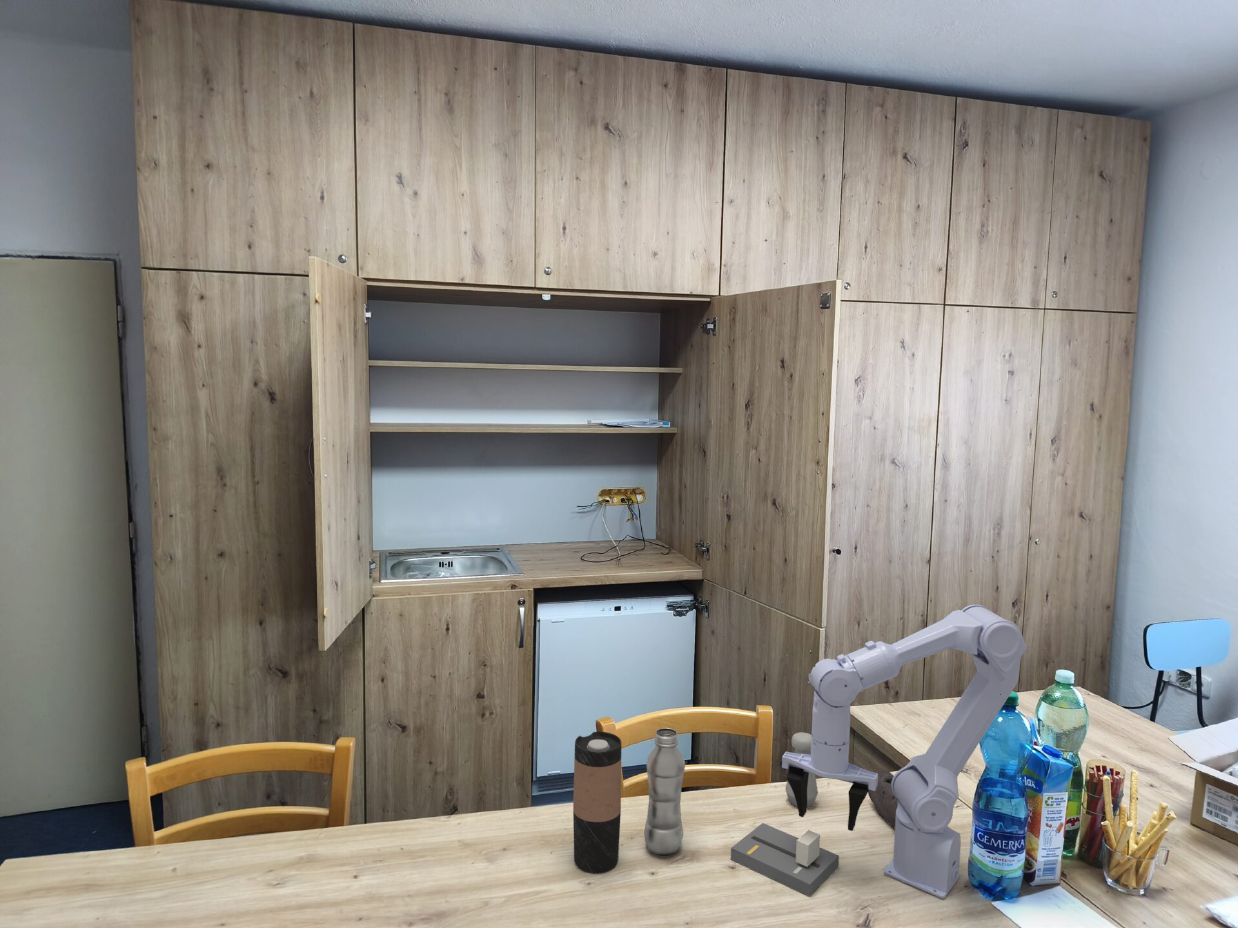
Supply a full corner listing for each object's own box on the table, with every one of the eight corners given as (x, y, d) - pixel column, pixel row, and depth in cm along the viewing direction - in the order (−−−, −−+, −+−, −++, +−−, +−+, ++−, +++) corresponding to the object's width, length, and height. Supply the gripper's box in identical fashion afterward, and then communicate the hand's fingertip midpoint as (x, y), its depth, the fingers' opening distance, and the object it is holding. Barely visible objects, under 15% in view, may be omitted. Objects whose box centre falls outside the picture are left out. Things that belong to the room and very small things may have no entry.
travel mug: (614, 877, 121) (616, 754, 120) (567, 870, 123) (568, 749, 121) (623, 849, 129) (626, 733, 127) (579, 843, 130) (580, 728, 129)
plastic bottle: (636, 852, 128) (639, 735, 126) (654, 832, 134) (657, 720, 132) (672, 864, 125) (676, 744, 123) (689, 843, 131) (692, 729, 129)
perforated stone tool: (931, 848, 131) (933, 808, 131) (901, 849, 131) (903, 809, 130) (891, 801, 146) (893, 766, 145) (864, 802, 145) (866, 767, 145)
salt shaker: (820, 811, 142) (823, 742, 141) (788, 810, 142) (791, 741, 141) (812, 794, 148) (815, 728, 147) (782, 794, 148) (785, 728, 147)
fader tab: (819, 855, 124) (820, 834, 124) (807, 866, 121) (808, 845, 121) (807, 850, 125) (808, 829, 125) (795, 861, 122) (796, 840, 122)
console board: (838, 866, 125) (839, 854, 125) (809, 896, 118) (809, 883, 118) (762, 833, 134) (762, 822, 134) (730, 859, 127) (731, 846, 127)
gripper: (883, 738, 122) (879, 821, 123) (792, 718, 129) (789, 797, 130) (874, 756, 116) (870, 843, 117) (779, 734, 123) (776, 816, 124)
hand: (826, 820), depth 123 cm, fingers open, 7 cm apart
